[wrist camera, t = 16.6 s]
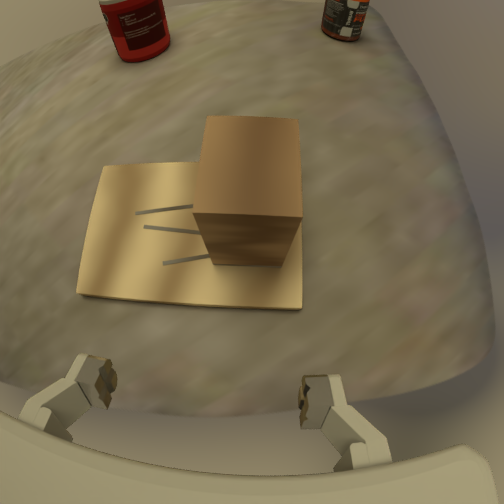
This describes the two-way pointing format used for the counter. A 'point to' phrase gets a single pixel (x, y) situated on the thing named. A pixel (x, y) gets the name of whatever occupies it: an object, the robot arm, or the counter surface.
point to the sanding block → (249, 189)
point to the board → (170, 247)
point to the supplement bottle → (344, 18)
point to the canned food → (136, 27)
